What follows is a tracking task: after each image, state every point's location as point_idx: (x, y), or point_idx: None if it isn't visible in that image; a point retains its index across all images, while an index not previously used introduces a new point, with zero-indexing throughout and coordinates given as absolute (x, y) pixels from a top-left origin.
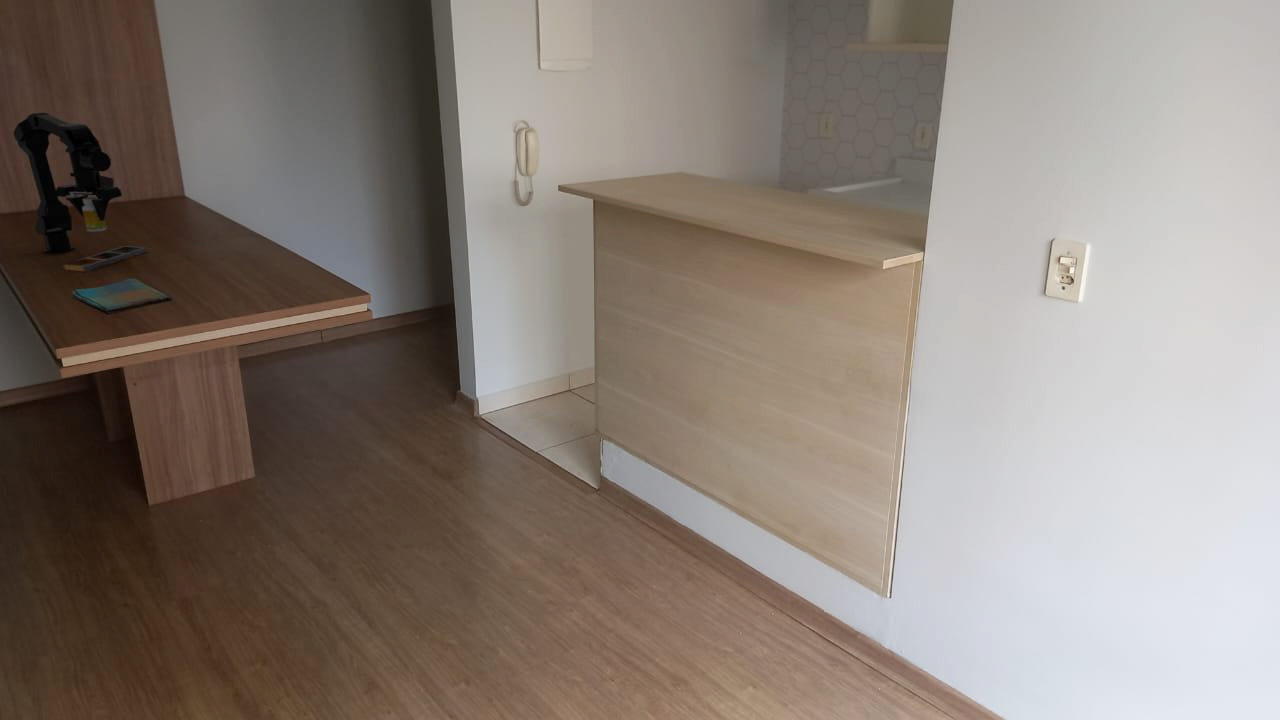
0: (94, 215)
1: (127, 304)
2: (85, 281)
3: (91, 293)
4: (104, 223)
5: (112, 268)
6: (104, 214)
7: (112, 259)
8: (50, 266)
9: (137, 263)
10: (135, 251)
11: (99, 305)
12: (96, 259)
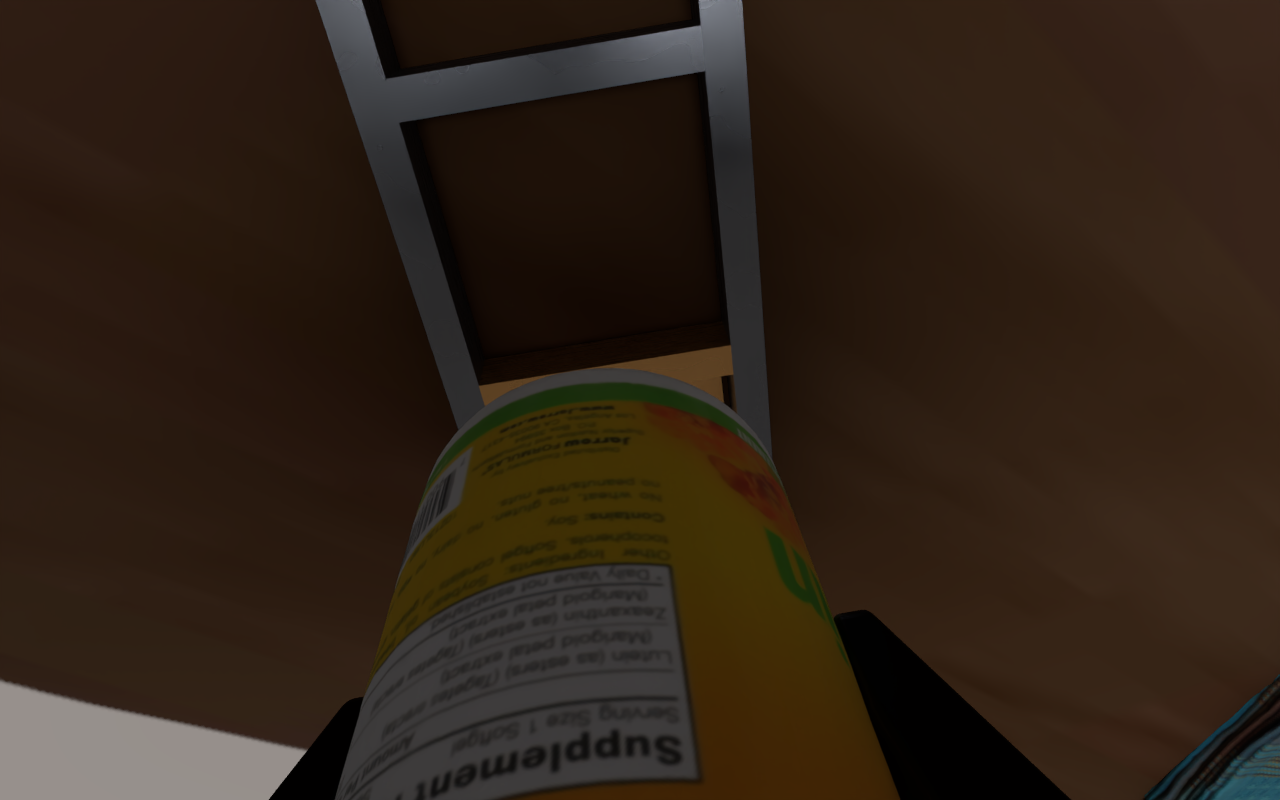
0: None
1: None
2: (981, 661)
3: (1264, 791)
4: (800, 534)
5: (904, 390)
6: (979, 742)
7: (758, 283)
8: (318, 575)
9: (1023, 148)
10: None
11: None
12: None
